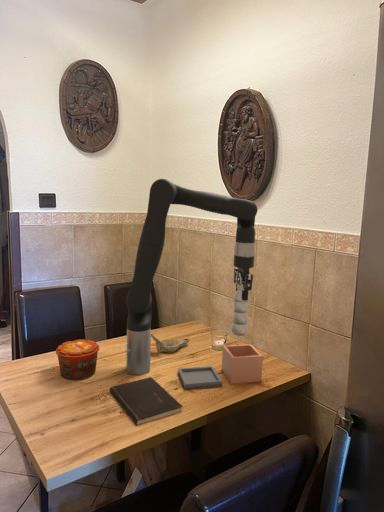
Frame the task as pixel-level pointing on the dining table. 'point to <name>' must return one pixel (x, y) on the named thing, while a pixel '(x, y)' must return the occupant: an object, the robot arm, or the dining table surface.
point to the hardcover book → (145, 400)
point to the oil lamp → (169, 344)
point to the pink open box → (242, 363)
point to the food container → (77, 359)
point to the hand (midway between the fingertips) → (241, 297)
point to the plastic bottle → (240, 313)
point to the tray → (199, 377)
